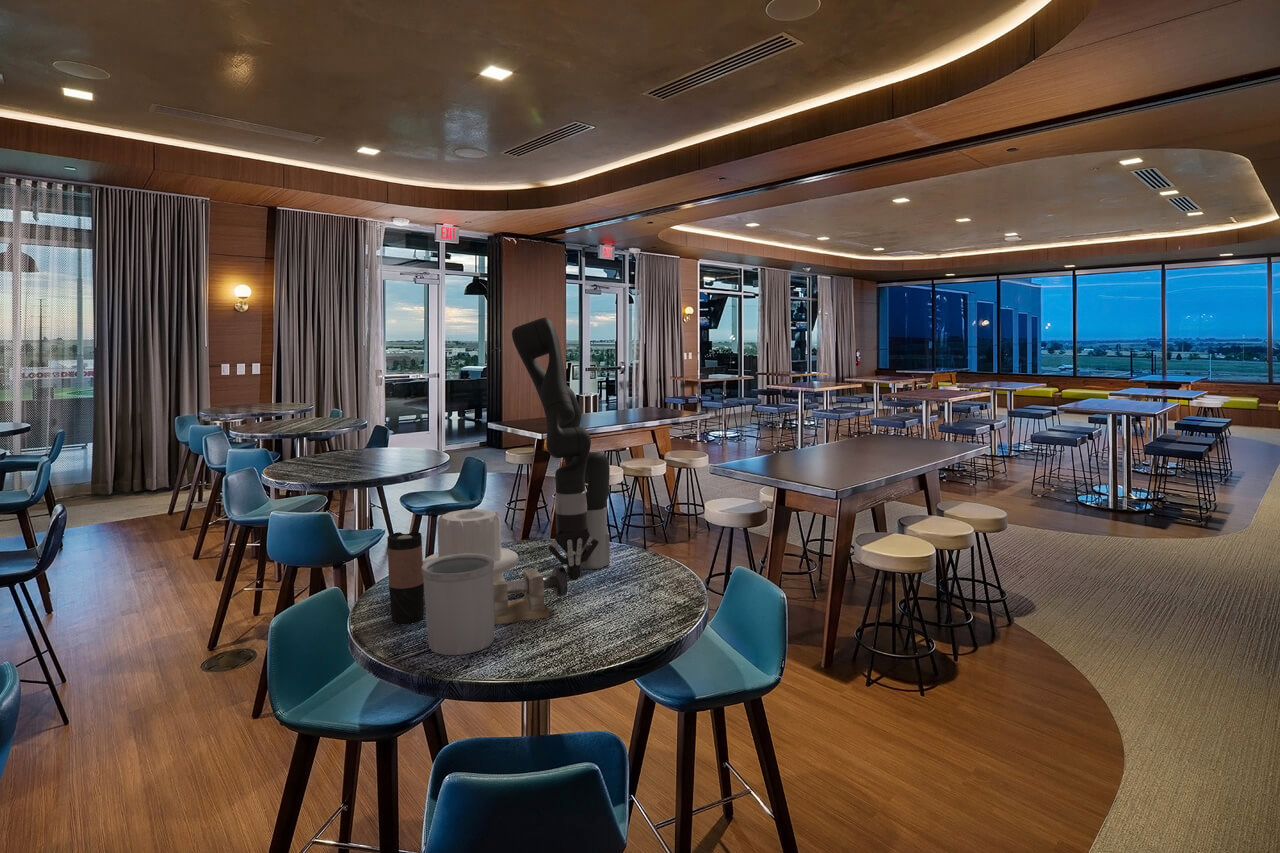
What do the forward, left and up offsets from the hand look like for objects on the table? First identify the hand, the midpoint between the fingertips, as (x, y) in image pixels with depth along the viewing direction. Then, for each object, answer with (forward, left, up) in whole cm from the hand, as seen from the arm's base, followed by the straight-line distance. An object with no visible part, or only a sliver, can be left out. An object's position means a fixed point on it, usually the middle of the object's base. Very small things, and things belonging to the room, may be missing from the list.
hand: (574, 579), depth 167 cm
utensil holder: (+28, +12, -7) cm, 32 cm away
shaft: (+12, 0, -4) cm, 12 cm away
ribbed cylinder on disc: (+21, -26, -7) cm, 34 cm away
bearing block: (+14, 0, -7) cm, 16 cm away
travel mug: (+38, -6, -7) cm, 40 cm away
